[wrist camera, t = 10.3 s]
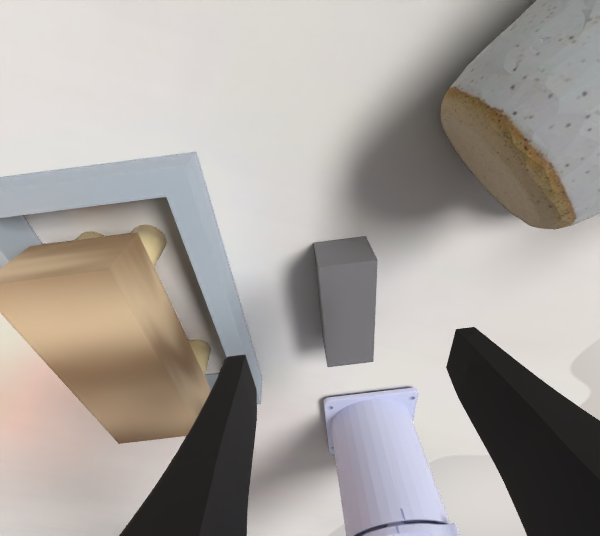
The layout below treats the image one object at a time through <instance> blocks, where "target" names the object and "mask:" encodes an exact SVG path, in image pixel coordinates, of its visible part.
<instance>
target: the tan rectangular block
mask: <svg viewBox="0 0 600 536" xmlns="http://www.w3.org/2000/svg"><path fill="white" fill-rule="evenodd" d="M0 313H1V314H2V315H3V316H4V317H5V318H6V320H7V321H8V322H9V323H10V324H11V325H12V326H13V327H14V328H15V330H16V331H17V332H18V333H19V334H20V335H21V336H22V337H23V338H24V339H25V341H26V342H27V343H28V344H29V345H30V346H31V347H32V348H33V349H34V350H35V352H36V353H37V354H38V355H39V356H40V357H41V358H42V359H43V360H44V362H45V363H46V364H47V365H48V366H49V367H50V368H51V369H52V370H53V371H54V373H55V374H56V375H57V376H58V377H59V378H60V379H61V380H62V381H63V383H64V384H65V385H66V386H67V387H68V388H69V389H70V390H71V391H72V392H73V394H74V395H75V396H76V397H77V398H78V399H79V400H80V401H81V402H82V403H83V405H84V406H85V407H86V408H87V409H88V410H89V411H90V412H91V413H92V415H93V416H94V417H95V418H96V419H97V420H98V421H99V422H100V423H101V424H102V426H103V427H104V428H105V429H106V430H107V431H108V432H109V433H110V434H111V435H112V437H113V438H114V439H115V440H116V441H117V442H118V443H119V444H120V443H129V442H137V441H146V440H154V439H163V438H172V437H180V436H187V434H188V433H189V431H190V429H191V428H192V426H193V424H194V422H195V421H196V419H197V417H198V415H199V413H200V411H201V409H202V407H203V405H204V403H205V402H206V400H207V398H208V396H209V394H210V390H211V389H210V386H209V384H208V382H207V380H206V378H205V376H204V374H203V371H202V369H201V367H200V365H199V363H198V361H197V359H196V356H195V354H194V352H193V350H192V348H191V346H190V344H189V341H188V339H187V337H186V335H185V333H184V331H183V328H182V326H181V324H180V322H179V320H178V318H177V316H176V313H175V311H174V309H173V307H172V305H171V303H170V301H169V298H168V296H167V294H166V292H165V290H164V288H163V286H162V283H161V281H160V279H159V277H158V275H157V273H156V271H155V268H154V266H153V264H152V262H151V260H150V258H149V255H148V253H147V251H146V249H145V247H144V245H143V243H142V240H141V238H140V236H139V234H138V232H136V233H128V234H121V235H113V236H105V237H97V238H89V239H82V240H74V241H66V242H58V243H50V244H43V245H35V246H29V247H28V248H27V249H25V250H24V251H23V252H21V253H20V254H19V255H17V256H16V257H15V258H14V259H12V260H11V261H10V262H8V263H7V264H6V265H4V266H3V267H2V268H0Z"/></svg>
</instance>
